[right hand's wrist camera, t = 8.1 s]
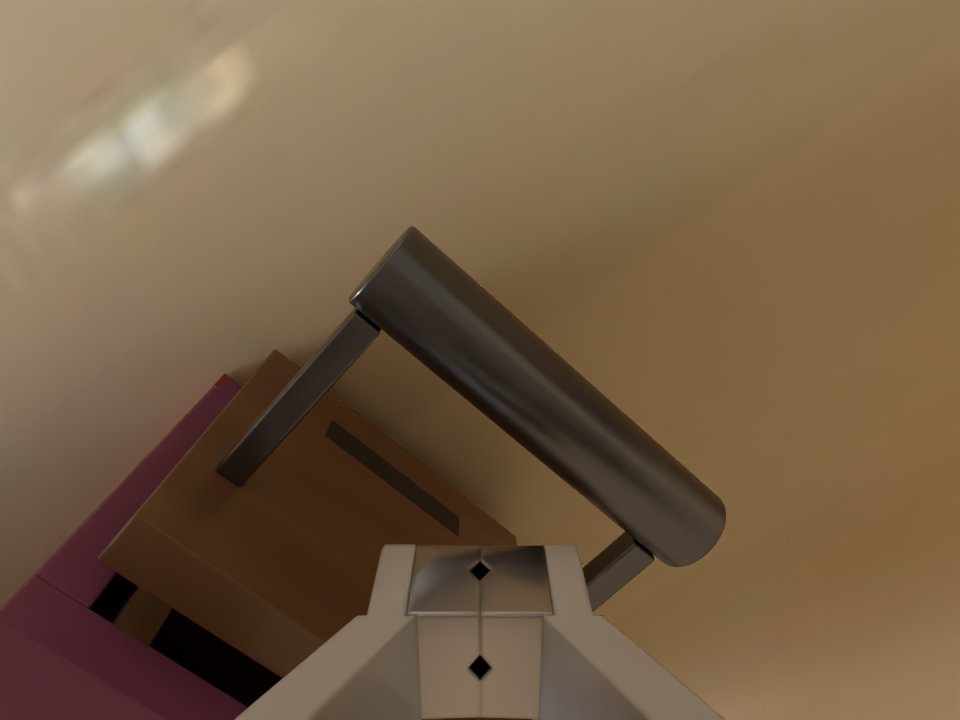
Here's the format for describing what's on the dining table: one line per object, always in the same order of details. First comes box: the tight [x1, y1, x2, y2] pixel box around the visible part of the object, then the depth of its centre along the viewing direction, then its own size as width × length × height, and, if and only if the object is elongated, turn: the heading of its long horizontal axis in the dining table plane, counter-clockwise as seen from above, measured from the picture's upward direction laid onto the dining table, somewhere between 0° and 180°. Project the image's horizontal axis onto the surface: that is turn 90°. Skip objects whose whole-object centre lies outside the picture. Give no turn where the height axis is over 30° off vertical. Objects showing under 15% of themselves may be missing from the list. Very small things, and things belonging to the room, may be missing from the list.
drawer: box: [93, 226, 726, 720], centre depth 17 cm, size 25×9×8 cm, turn 138°
